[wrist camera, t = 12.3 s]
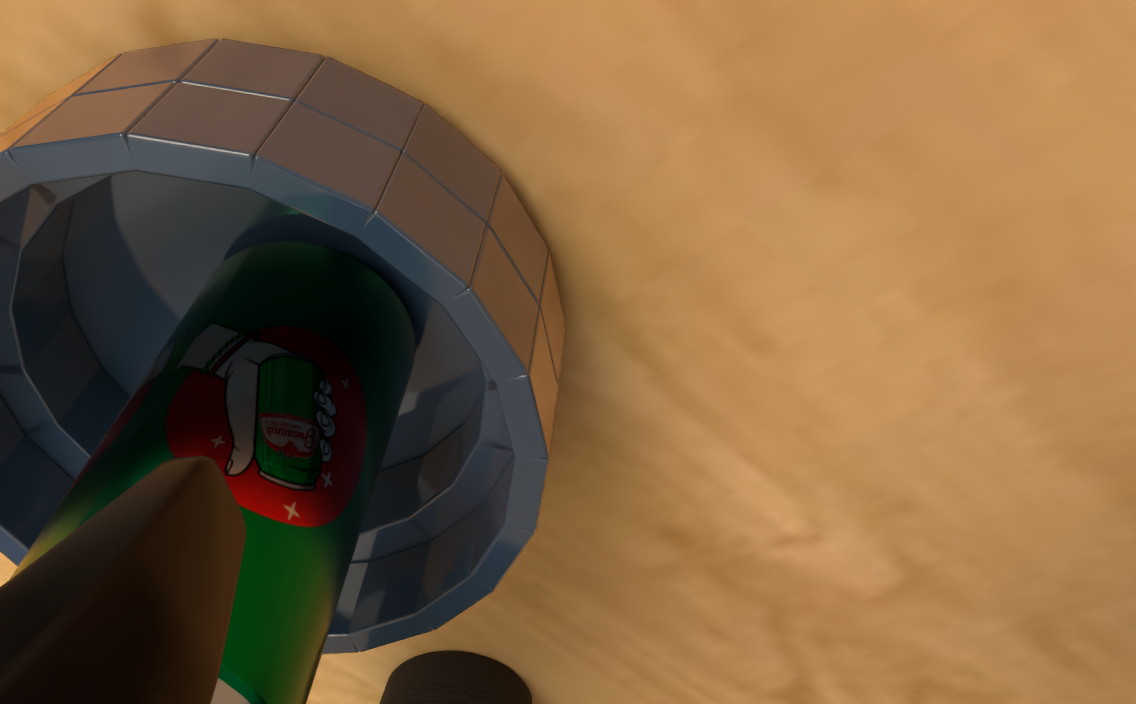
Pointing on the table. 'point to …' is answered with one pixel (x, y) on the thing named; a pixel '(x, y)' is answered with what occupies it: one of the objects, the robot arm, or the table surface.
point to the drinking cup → (454, 681)
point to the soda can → (269, 442)
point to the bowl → (274, 214)
